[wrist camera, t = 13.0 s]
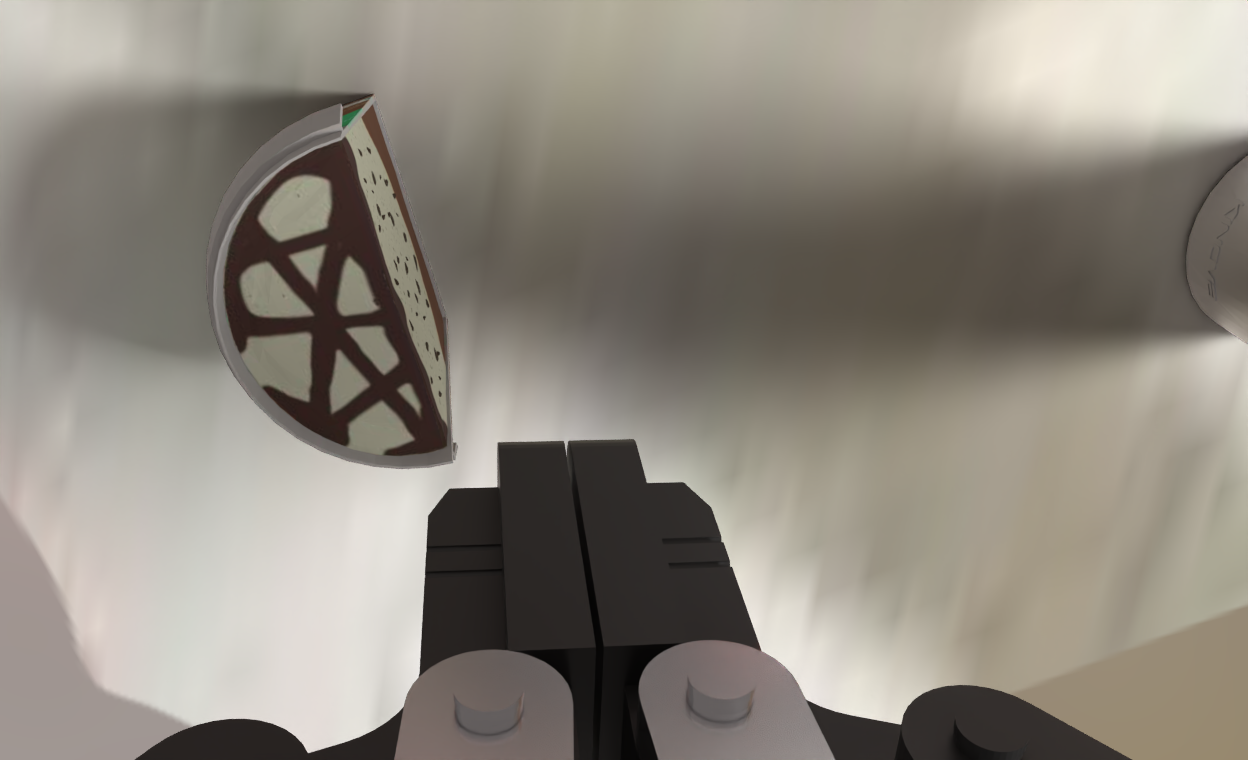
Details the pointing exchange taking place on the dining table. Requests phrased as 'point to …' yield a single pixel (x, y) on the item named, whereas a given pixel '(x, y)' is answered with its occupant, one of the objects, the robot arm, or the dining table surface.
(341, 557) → the dining table surface
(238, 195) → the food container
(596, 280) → the dining table surface
